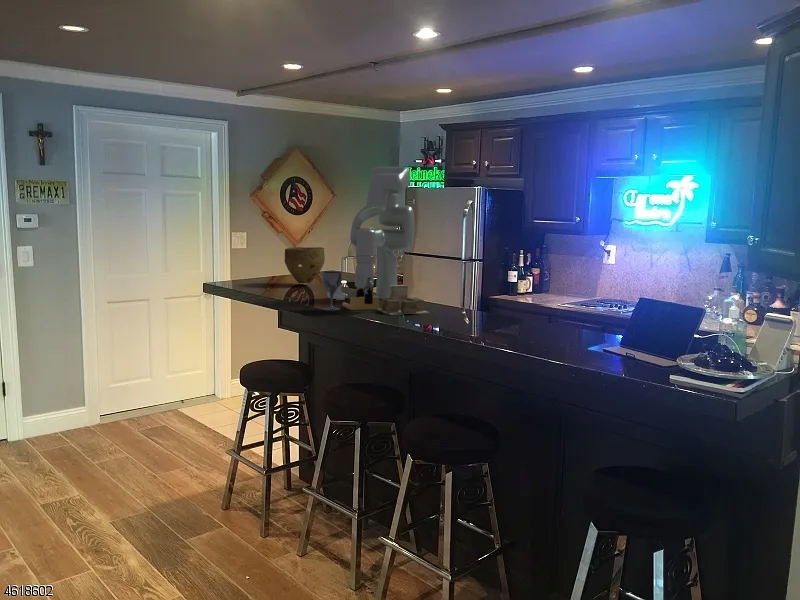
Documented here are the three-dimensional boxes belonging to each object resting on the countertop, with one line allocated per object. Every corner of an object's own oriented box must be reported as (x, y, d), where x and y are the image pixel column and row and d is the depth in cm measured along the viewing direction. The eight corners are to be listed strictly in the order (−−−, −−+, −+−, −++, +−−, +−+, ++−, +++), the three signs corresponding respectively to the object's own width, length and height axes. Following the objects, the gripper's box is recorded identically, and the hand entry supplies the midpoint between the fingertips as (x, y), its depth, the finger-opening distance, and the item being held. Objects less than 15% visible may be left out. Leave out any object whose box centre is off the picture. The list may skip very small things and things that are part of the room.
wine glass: (338, 311, 257) (338, 273, 255) (318, 309, 259) (319, 272, 257) (343, 308, 265) (344, 271, 263) (325, 307, 267) (325, 270, 265)
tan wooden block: (342, 306, 271) (342, 294, 271) (369, 305, 276) (369, 293, 276) (351, 310, 261) (351, 297, 261) (378, 309, 266) (379, 297, 265)
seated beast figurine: (344, 301, 287) (344, 273, 285) (324, 300, 287) (325, 273, 286) (348, 298, 296) (348, 272, 294) (329, 297, 297) (329, 271, 295)
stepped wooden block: (376, 309, 264) (377, 285, 263) (414, 308, 271) (415, 284, 270) (390, 315, 251) (391, 289, 249) (430, 314, 257) (431, 288, 256)
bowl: (297, 288, 324) (298, 248, 322) (276, 284, 339) (277, 246, 337) (332, 286, 338) (332, 248, 335) (310, 282, 353) (311, 245, 350)
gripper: (349, 258, 268) (348, 299, 270) (364, 261, 252) (362, 305, 254) (366, 258, 271) (365, 299, 273) (382, 261, 255) (380, 304, 257)
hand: (364, 302), depth 263 cm, fingers open, 9 cm apart
